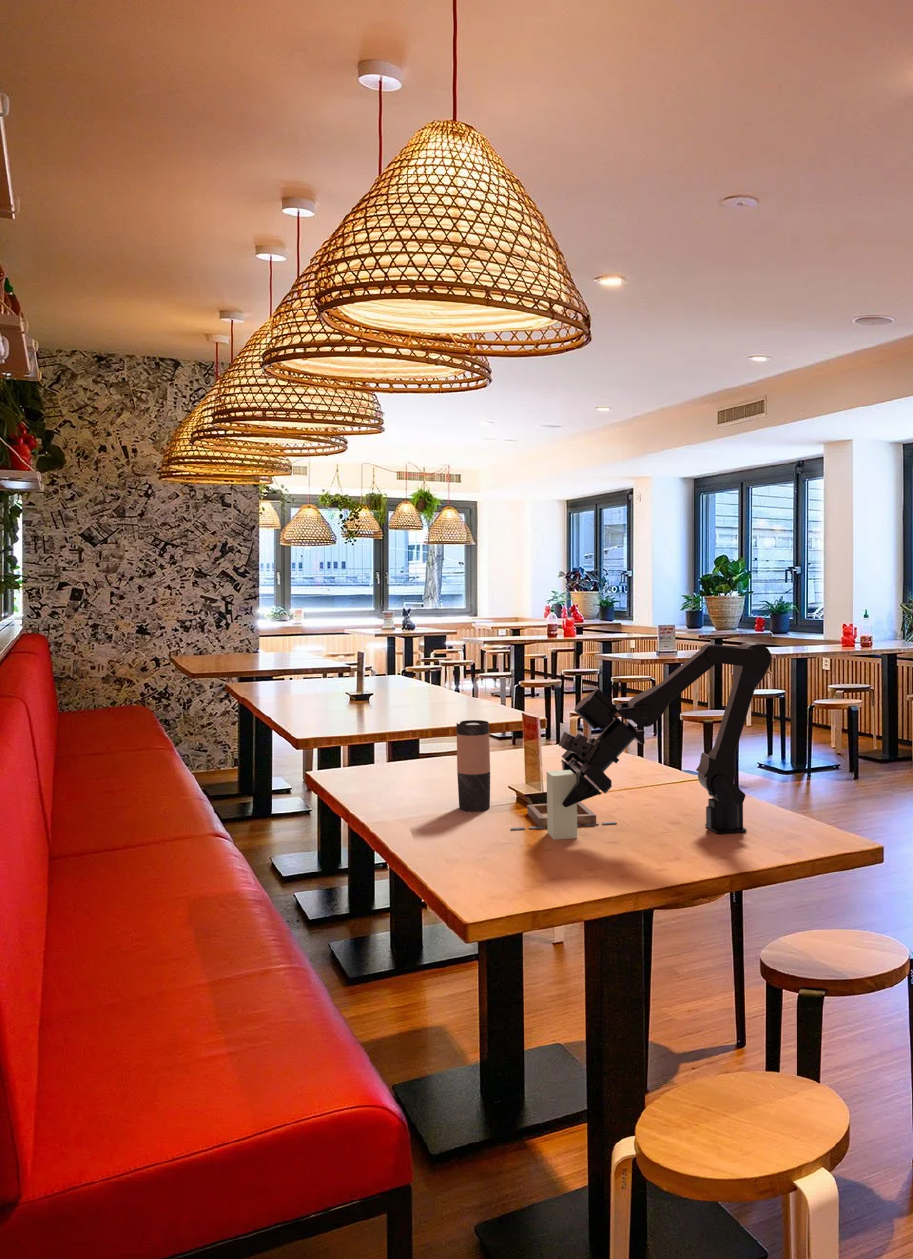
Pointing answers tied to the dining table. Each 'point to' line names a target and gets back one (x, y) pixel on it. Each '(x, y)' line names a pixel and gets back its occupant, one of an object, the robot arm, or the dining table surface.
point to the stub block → (558, 816)
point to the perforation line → (577, 825)
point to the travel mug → (473, 765)
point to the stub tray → (540, 814)
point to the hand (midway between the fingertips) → (558, 800)
